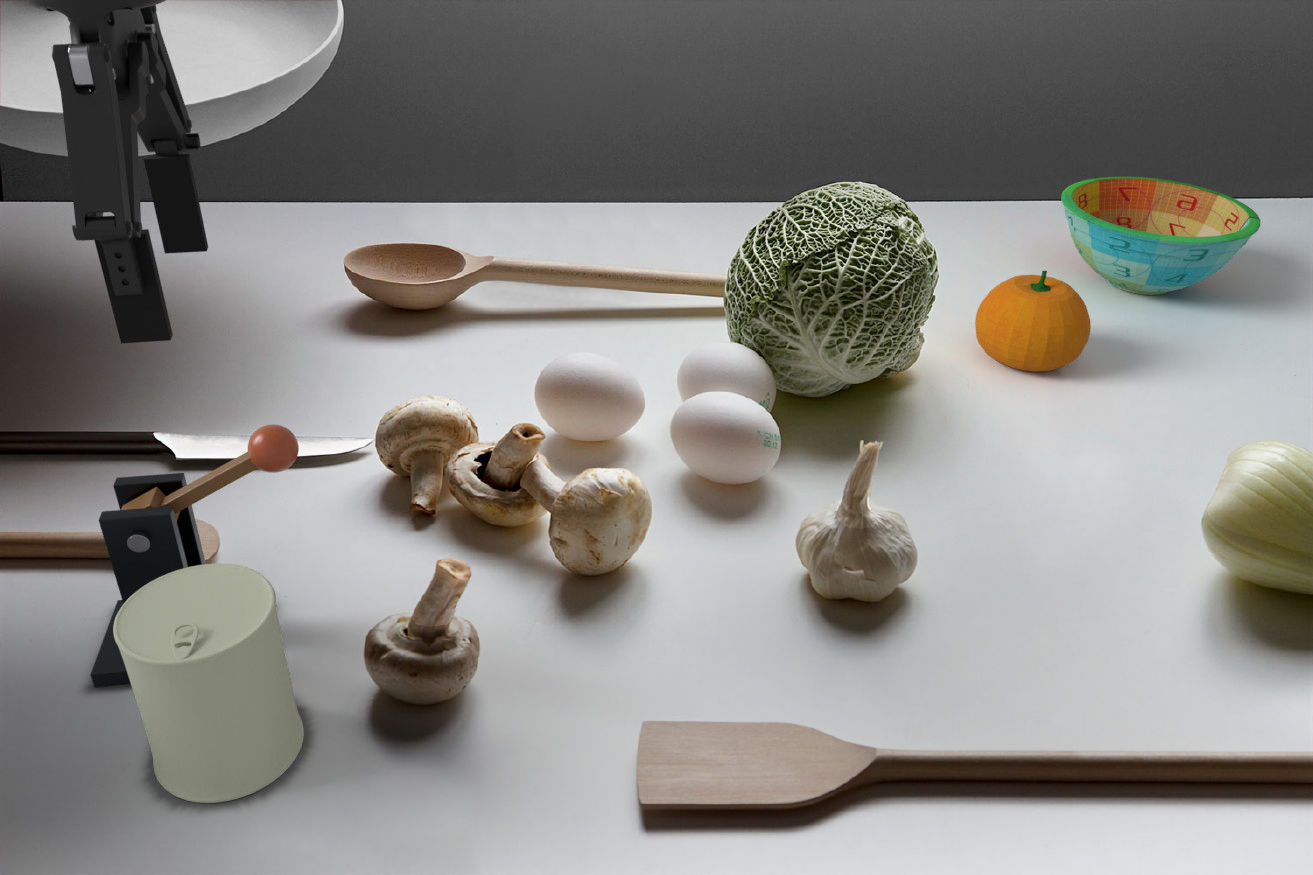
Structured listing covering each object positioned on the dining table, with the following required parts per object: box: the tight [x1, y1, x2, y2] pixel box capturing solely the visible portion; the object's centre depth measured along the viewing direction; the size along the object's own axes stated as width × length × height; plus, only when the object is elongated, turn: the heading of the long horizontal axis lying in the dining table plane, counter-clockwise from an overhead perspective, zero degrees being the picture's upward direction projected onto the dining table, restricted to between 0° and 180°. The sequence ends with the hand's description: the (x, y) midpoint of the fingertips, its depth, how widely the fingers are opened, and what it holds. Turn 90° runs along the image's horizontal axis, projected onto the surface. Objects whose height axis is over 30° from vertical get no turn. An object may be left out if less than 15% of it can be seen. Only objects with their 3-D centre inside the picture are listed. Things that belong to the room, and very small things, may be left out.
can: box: [113, 563, 305, 804], centre depth 70 cm, size 9×9×12 cm
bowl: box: [1060, 176, 1261, 296], centre depth 137 cm, size 22×22×10 cm
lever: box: [121, 423, 300, 522], centre depth 75 cm, size 13×3×3 cm, turn 99°
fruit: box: [974, 270, 1092, 372], centre depth 120 cm, size 12×12×10 cm
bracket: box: [90, 472, 207, 688], centre depth 78 cm, size 10×8×13 cm
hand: (168, 292), depth 71 cm, fingers open, 13 cm apart
